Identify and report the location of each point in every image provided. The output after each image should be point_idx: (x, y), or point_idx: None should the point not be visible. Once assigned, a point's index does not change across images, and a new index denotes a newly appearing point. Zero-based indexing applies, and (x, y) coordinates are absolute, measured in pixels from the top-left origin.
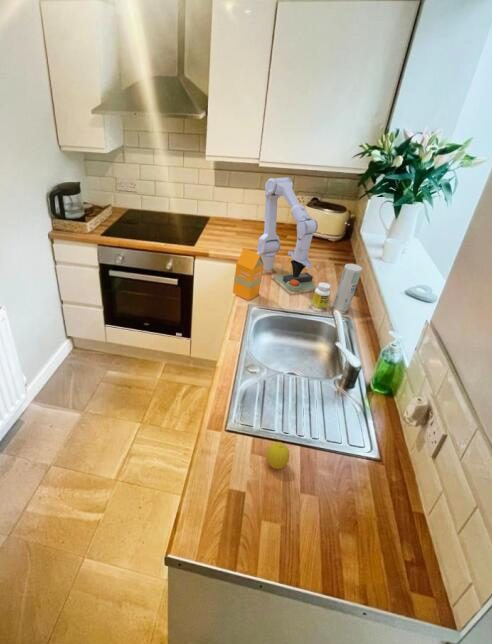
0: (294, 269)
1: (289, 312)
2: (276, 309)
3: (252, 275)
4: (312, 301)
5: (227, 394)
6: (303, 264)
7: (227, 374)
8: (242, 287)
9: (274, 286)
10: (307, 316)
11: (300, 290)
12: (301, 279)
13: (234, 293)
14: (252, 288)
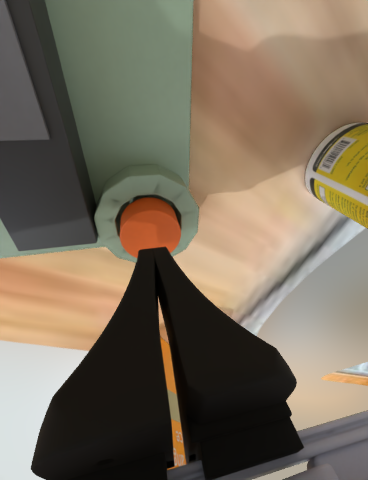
0: (171, 354)
1: (285, 279)
2: (251, 304)
3: None
4: (337, 210)
5: (356, 377)
6: (318, 446)
7: (336, 378)
8: None
9: (84, 266)
10: (338, 237)
11: (187, 182)
12: (63, 113)
13: None
14: None
